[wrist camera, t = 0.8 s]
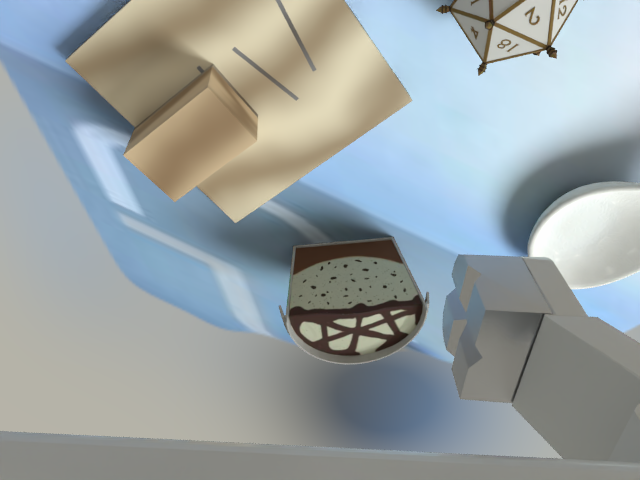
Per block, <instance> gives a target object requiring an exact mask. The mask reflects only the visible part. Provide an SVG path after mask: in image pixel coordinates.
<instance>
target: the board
mask: <svg viewBox="0 0 640 480" xmlns="http://www.w3.org/2000/svg"><path fill="white" fill-rule="evenodd" d="M66 62H67V63H68V64H69V65H70V66H71V67H72V68H73V69H74V70H75V71H76V72H77V73H78V74H79V75H80V76H81V77H83V78H84V79H85V80H86V81H87V82H88V83H89V84H90V85H91V86H92V87H93V88H94V89H95V90H96V91H97V92H98V93H99V94H100V95H101V96H103V97H104V98H105V99H106V100H107V101H108V102H109V103H110V104H111V105H112V106H113V107H114V108H115V109H116V110H117V111H118V112H119V113H120V114H121V115H122V116H124V117H125V118H126V119H127V120H128V121H129V122H130V123H131V124H132V125H133V126H134V127H136V126H137V125H139V124H140V123H141V122H142V121H144V120H145V119H146V118H147V117H148V116H150V115H151V114H152V113H153V112H155V111H156V110H157V109H158V108H159V107H161V106H162V105H163V104H164V103H166V102H167V101H168V100H169V99H170V98H172V97H173V96H174V95H175V94H177V93H178V92H179V91H180V90H181V89H183V88H184V87H185V86H186V85H188V84H189V83H190V82H191V81H192V80H194V79H195V78H196V77H197V76H199V75H200V74H201V73H202V72H204V71H205V70H206V69H207V68H208V67H210V66H211V65H212V64H214V65H215V67H216V68H217V69H218V70H219V71H220V72H221V73H222V74H223V76H224V77H225V78H226V79H227V80H228V81H229V82H230V83H231V85H232V86H233V87H234V88H235V89H236V90H237V91H238V93H239V94H240V95H241V96H242V97H243V98H244V99H245V100H246V102H247V103H248V104H249V105H250V106H251V107H252V108H253V109H254V111H255V112H256V113H257V114H258V131H257V142H255V143H254V144H253V145H251V146H250V147H248V148H247V149H246V150H244V151H243V152H242V153H240V154H239V155H238V156H236V157H235V158H234V159H232V160H231V161H230V162H228V163H227V164H225V165H224V166H223V167H221V168H220V169H219V170H217V171H216V172H215V173H213V174H212V175H211V176H209V177H208V178H207V179H205V180H204V181H202V182H201V183H200V184H198V185H197V187H198V188H199V189H200V190H201V191H202V192H203V193H204V194H206V195H207V196H208V197H209V198H210V199H211V200H212V201H213V202H214V203H215V204H216V205H217V206H218V207H219V208H220V209H221V210H222V211H223V212H224V213H225V214H227V215H228V216H229V217H230V218H231V219H232V220H233V221H234V222H235V223H237V222H238V221H240V220H241V219H243V218H244V217H245V216H247V215H248V214H250V213H251V212H253V211H254V210H256V209H257V208H258V207H260V206H261V205H263V204H264V203H266V202H267V201H268V200H270V199H271V198H273V197H274V196H276V195H277V194H279V193H280V192H281V191H283V190H284V189H286V188H287V187H289V186H290V185H292V184H293V183H294V182H296V181H297V180H299V179H300V178H302V177H303V176H305V175H306V174H307V173H309V172H310V171H312V170H313V169H315V168H316V167H317V166H319V165H320V164H322V163H323V162H325V161H326V160H328V159H329V158H330V157H332V156H333V155H335V154H336V153H338V152H339V151H341V150H342V149H343V148H345V147H346V146H348V145H349V144H351V143H352V142H354V141H355V140H356V139H358V138H359V137H361V136H362V135H364V134H365V133H366V132H368V131H369V130H371V129H372V128H374V127H375V126H377V125H378V124H379V123H381V122H382V121H384V120H385V119H387V118H388V117H390V116H391V115H392V114H394V113H395V112H397V111H398V110H400V109H401V108H403V107H404V106H405V105H407V104H408V103H410V102H411V101H412V99H411V97H410V95H409V94H408V92H407V91H406V89H405V88H404V86H403V85H402V84H401V82H400V81H399V79H398V78H397V76H396V75H395V73H394V72H393V70H392V69H391V67H390V66H389V65H388V63H387V62H386V60H385V59H384V57H383V56H382V54H381V53H380V51H379V50H378V49H377V47H376V46H375V44H374V43H373V41H372V40H371V38H370V37H369V35H368V34H367V32H366V31H365V30H364V28H363V27H362V25H361V24H360V22H359V21H358V19H357V18H356V16H355V15H354V13H353V12H352V11H351V9H350V8H349V6H348V5H347V3H346V2H345V0H130V1H129V2H128V3H127V4H125V5H124V6H123V7H122V8H121V9H120V10H119V11H118V12H117V13H116V14H115V15H113V16H112V17H111V18H110V19H109V20H108V21H107V22H106V23H105V24H104V25H103V26H101V27H100V28H99V29H98V30H97V31H96V32H95V33H94V34H93V35H92V36H91V37H89V38H88V39H87V40H86V41H85V42H84V43H83V44H82V45H81V46H80V47H79V48H77V49H76V50H75V51H74V52H73V53H72V54H71V55H70V56H69V57H68V58H67V60H66Z"/></svg>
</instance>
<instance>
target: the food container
mask: <svg viewBox="0 0 640 480" xmlns="http://www.w3.org/2000/svg"><path fill="white" fill-rule="evenodd" d="M428 308H429V292H427V293H426V299H425V301H424V299H423V296H422V294H421V292H420V290H419V288H418V286H417V284H416V282H415V280H414V278H413V276H412V274H411V272H410V270H409V268H408V266H407V264H406V262H405V260H404V258H403V256H402V254H401V251H400V249H399V247H398V245H397V243H396V241H395V239H394V237H387V238H375V239H364V240H353V241H341V242H330V243H318V244H307V245H296V246H293V254H292V263H291V272H290V281H289V290H288V299H287V309H286V315H285V316H284V314H283V311H282V308H281V305H280V306H279V309H280V313H281V316H282V319H283V322H284V325H285V327H286V329H287V332H288V333H289V335H290V336H291V338H292V339H293V340H294V342H295V343H296V344H297V345H298V346H299V347H300V348H301V349H302V350H304V351H305V352H307V353H308V354H310V355H311V356H314V357H316V358H318V359H321V360H324V361H327V362H332V363H337V364H361V363H367V362H372V361H376V360H379V359H382V358H385V357H387V356H389V355H391V354H393V353H395V352H397V351H399V350H400V349H402V348H403V347H405V346H406V345H407V344H408V343H409V342H411V341H412V340H413V339H414V338H415V336H416V335H417V334H418V333H419V331H420V330H421V328H422V326H423V325H424V322H425V320H426V317H427V312H428Z"/></svg>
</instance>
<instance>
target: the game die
mask: <svg viewBox="0 0 640 480" xmlns="http://www.w3.org/2000/svg"><path fill="white" fill-rule="evenodd" d="M577 2H578V0H454V1H453V3H452V4H451V6H446V5H445V6H443V5H442V6H441V7H440V8H439V9H437V10H436V11H438V12H441V13H442V14H443V13H447V12H451V13H452V15H453V17H454V18H455V20H456V21H457V23H458V24H459V26H460V27H461V29H462V31H463V32H464V34H465V35H466V37H467V38H468V40H469V41H470V43H471V44H472V46H473V48H474V49H475V51H476V52H477V54H478V55H479V57H480V58H481V60H482V64H481V65H479V66H480V67H479V68H478V76H479V75H480V74H482V73H483V72H485V69H487V68H486V65H487V64H488V63H493V62H497V61H501V60H506V59H510V58H514V57H519V56H523V55H527V54H531V53H533V54H534V55H538V56H539V54H540V52H541V51H544V50H547V54H549V57H553V58H556V59H557V54H556V53H557V50H555V48H553V47H551V45H552V44H553V42H554V40H555V39H556V37H557V35H558V34H559V32H560V30H561V29H562V27H563V25H564V23H565V22H566V20H567V18H568V17H569V15H570V13H571V12H572V10H573V8H574V7H575V5H576V3H577Z"/></svg>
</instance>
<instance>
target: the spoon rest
mask: <svg viewBox="0 0 640 480" xmlns="http://www.w3.org/2000/svg"><path fill="white" fill-rule="evenodd" d="M527 252H528V257H547V258H549V259H551V260H553V262H554V263H555V265H556V266H557V268H558V270H559V271H560V273H561V274H562V276H563V278H564V279H565V281H566V282H567V284H568V286H569V287H570V289H585V288H592V287H598V286H602V285H606V284H609V283H612V282H615V281H618V280H621V279H623V278H626V277H628V276H630V275H632V274H635V273H637V272H639V271H640V183H636V182H618V181H611V182H599V183H593V184H588V185H585V186H581V187H578V188H576V189H573V190H571V191H569V192H567V193H566V194H564V195H562V196H561V197H559V198H558V199H557V200H556V201H554V202H553V203H552V204H551V205H550V206H549V207H548V208H547V209H546V210H545V211H544V212H543V213H542V215H541V216H540V217H539V219H538V220H537V222H536V224H535V225H534V227H533V229H532V232H531V234H530V237H529V241H528V246H527Z"/></svg>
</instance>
